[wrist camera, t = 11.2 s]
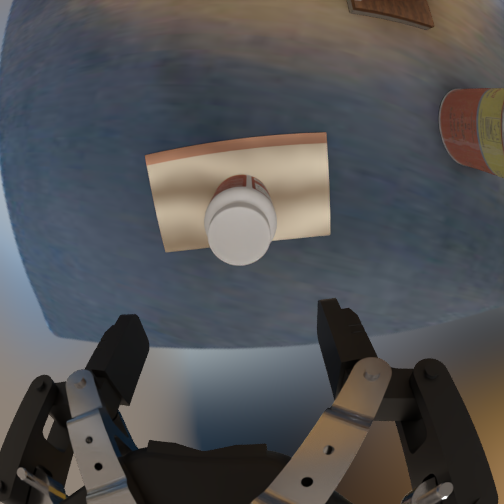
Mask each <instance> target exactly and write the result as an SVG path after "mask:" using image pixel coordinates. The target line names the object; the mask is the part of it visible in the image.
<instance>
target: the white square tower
mask: <svg viewBox="0 0 504 504" xmlns="http://www.w3.org/2000/svg"><path fill="white" fill-rule="evenodd" d="M347 3H348V7H349V11H350V13H352V14H359V15H365V16H371V17H376V18H381V19H386V20H391V21H395V22H399V23H403V24H407V25H411V26H414V27H418V28H421V29H424V30H428V29H430V28H433V27H434V23H433V20H432V16H431V13H430V10H429V6H428V3H427V0H347Z"/></svg>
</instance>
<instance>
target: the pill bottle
mask: <svg viewBox="0 0 504 504" xmlns="http://www.w3.org/2000/svg"><path fill="white" fill-rule="evenodd" d="M204 227H205V232H206V235H207V237H208V243H209V246H210V248H211V250H212V251H213V253H214V254H215V255H216V256H217V257H218V258H219V259H221V260H222V261H224V262H226V263H228V264H231V265H247V264H251V263H253V262H255V261H257V260H258V259H260V258H261V257H262V256H263V255H264V254H265V253H266V251H267V249H268V247H269V245H270V243H271V241H272V240H273V238H274V236H275V233H276V229H277V217H276V212H275V209H274V206H273V203H272V201H271V198H270V195H269V192H268V190H267V188H266V186H265V185H264V184H263V183H262V182H261V181H260V180H259V179H257V178H255V177H253V176H250V175H245V174H240V175H235V176H231V177H229V178H227V179H226V180H224V181H223V182H222V183H221V184H220V185H219V186H218V188H217V189H216V191H215V193H214V195H213V197H212V199H211V201H210V203H209V205H208V207H207V210H206V212H205V218H204Z"/></svg>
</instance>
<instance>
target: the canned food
mask: <svg viewBox="0 0 504 504" xmlns="http://www.w3.org/2000/svg"><path fill="white" fill-rule="evenodd" d="M439 130H440V135H441V138H442V141H443V144H444V146H445V148H446V150H447V152H448V153H449V155H450V156H451V157H452V158H453V159H454V160H455V161H456V162H457V163H459V164H461V165H464V166H469V167H472V168H476V169H479V170H482V171H485V172H488V173H491V174H494V175H496V176H499V177H502V178H504V89H503V88H482V89H453V90H451V91H449V92H448V93H447V94H446V95H445V96H444V98H443V100H442V102H441V105H440V109H439Z"/></svg>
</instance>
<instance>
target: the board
mask: <svg viewBox="0 0 504 504" xmlns="http://www.w3.org/2000/svg"><path fill="white" fill-rule="evenodd" d="M145 159H146V165H147V169H148V174H149V180H150V185H151V190H152V195H153V200H154V205H155V209H156V214H157V218H158V223H159V227H160V231H161V236H162V240H163V244H164V248H165V252H173V251H182V250H191V249H200V248H209V247H210V246H209V243H208V237H207V235H206V232H205V227H204V218H205V212H206V210H207V207H208V205H209V203H210V201H211V199H212V197H213V195H214V193H215V191H216V189H217V188H218V186H219V185H220V184H221V183H222V182H223V181H224V180H226V179H227V178H229V177H231V176H235V175H240V174H245V175H250V176H253V177H255V178H257V179H259V180H260V181H261V182H262V183H263V184H264V185H265V186H266V188H267V190H268V192H269V195H270V198H271V201H272V203H273V206H274V209H275V212H276V217H277V229H276V233H275V236H274V238H273V240H272V241H275V240H284V239H294V238H304V237H314V236H324V235H330V194H329V171H328V154H327V137H326V132H322V133H299V134H283V135H271V136H260V137H250V138H242V139H234V140H226V141H219V142H212V143H206V144H200V145H194V146H188V147H183V148H177V149H172V150H167V151H162V152H158V153H153V154H149V155H145Z"/></svg>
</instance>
